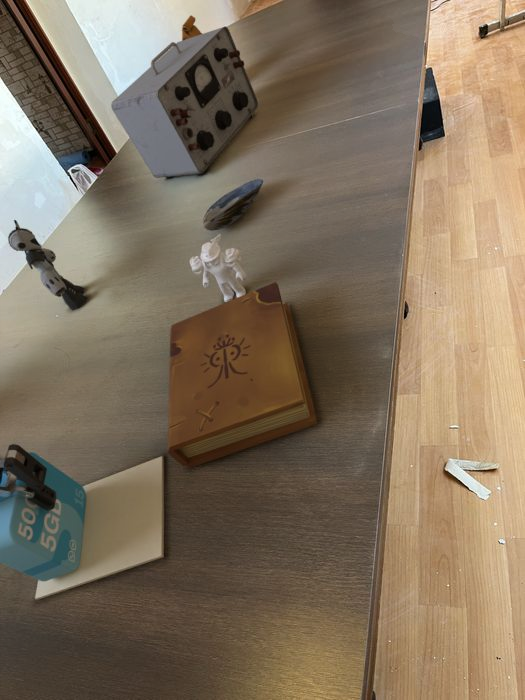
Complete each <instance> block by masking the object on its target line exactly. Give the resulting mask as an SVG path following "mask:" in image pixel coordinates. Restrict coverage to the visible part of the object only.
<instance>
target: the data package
mask: <svg viewBox="0 0 525 700" xmlns="http://www.w3.org/2000/svg"><path fill="white" fill-rule="evenodd" d="M28 453H29V454H30V455H31V456H33V457H34V458H35V459H36V460H37V461H39V462H40V463H41V464H42V465H43V466H45V467H46V468H47V472H46V477H45V482H44V484H45V485H46V486H48V487H49V488H51V489H53V490H54V491H55V492H56V493H57V494H56V503H55V508H54V509H52V510H49V511H46V510H45V509H43V508H41V507H40V506H38V505H36V504H34V503H33V502H31V501H29V500H28V499H27V498H25V497H20V496H16V495H10V496H9V497H1V496H0V564H2V565H4V566H7V567H9V568H11V569H13V570H15V571H18V572H20V573H22V574H25V575H26V576H29V577H31V578H33V579H35V580H37V581H38V580H40V581H48V580H50V579H53V578H56V577H58V576H61V575H63V574H66V573H69V572H71V571H74V570H76V569H77V568H78V566H79V563H80V556H81V546H82V536H83V526H84V516H85V506H86V493H85V490H84V488H83V487H82V484H80V483H79V482H78V481H76V480H75V479H73V478H72V477H71V476H69V475H68V474H66V473H65V472H64V471H62V470H60V469H58V468H57V467H56V466H55V465H53V464H52V463H50V462H48V461H47V460H46V459H45V458H43V457H41V456H40V455H39V454H37V453H35V452H33V451H31V452H30V451H29V452H28ZM33 473H34V472H33ZM2 474H3V477H2V481H1V484H0V486H5V484H6V480H7V475H6V474H5V473H2ZM15 484H16V485H17V486H20V487H25V483H24V482H23V481H20V480H16V483H15Z"/></svg>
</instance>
